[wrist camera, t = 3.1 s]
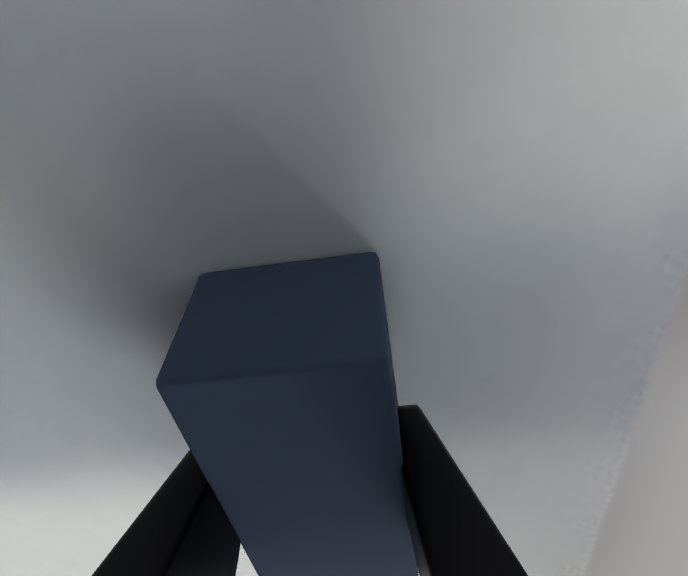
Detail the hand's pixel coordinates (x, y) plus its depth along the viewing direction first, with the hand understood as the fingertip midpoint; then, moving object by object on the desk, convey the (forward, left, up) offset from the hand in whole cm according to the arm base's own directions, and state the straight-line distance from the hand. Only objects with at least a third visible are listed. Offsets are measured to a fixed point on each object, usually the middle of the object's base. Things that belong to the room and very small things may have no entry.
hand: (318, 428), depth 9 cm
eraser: (0, 0, -1) cm, 1 cm away
